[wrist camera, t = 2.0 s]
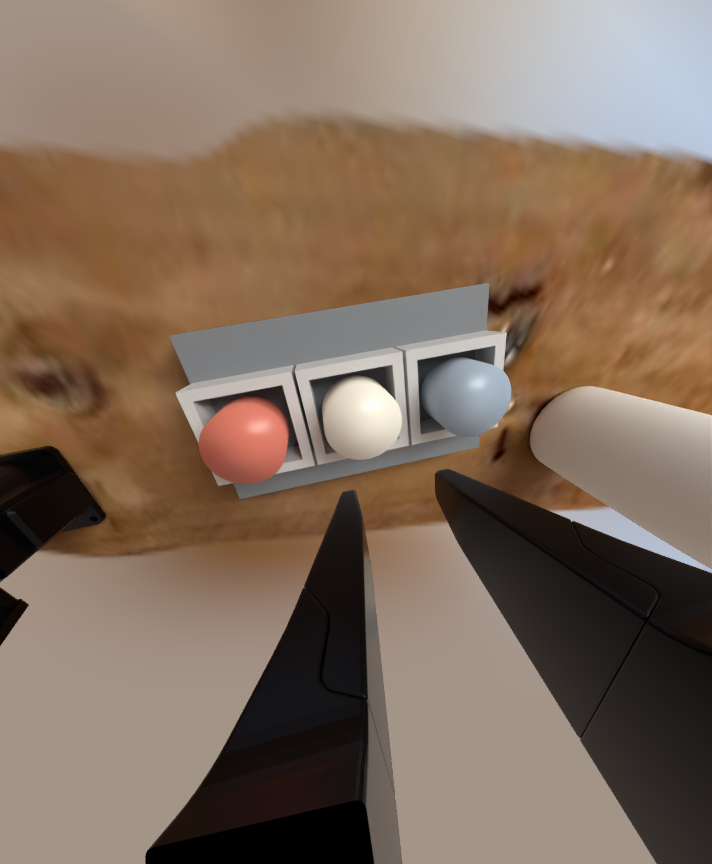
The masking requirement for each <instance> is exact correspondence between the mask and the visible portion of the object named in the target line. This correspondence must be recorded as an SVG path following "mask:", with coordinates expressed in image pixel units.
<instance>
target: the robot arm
mask: <svg viewBox="0 0 712 864" xmlns="http://www.w3.org/2000/svg"><path fill="white" fill-rule="evenodd" d="M46 453H48V454H49V455H50V456H49V455H48V454H46ZM435 494H436V498H437V501H438V503H439V505H440V507H441V509H442V511H443V513H444V515H445V517H446V519H447V521H448V523H449V526H450V528H451V530H452V532H453V534H454V536H455V538H456V540H457V542H458V544H459V545H460V547H461V549H462V550H463V552H464V554H465V555H466V557H467V558H468V560H469V562H470V563H471V565H472V566H473V568H474V570H475V571H476V573H477V574H478V576H479V578H480V579H481V581H482V583H483V584H484V586H485V587H486V589H487V590H488V592H489V594H490V595H491V597H492V599H493V600H494V602H495V604H496V605H497V607H498V608H499V610H500V611H501V613H502V615H503V616H504V618H505V620H506V621H507V623H508V624H509V626H510V628H511V629H512V631H513V633H514V634H515V636H516V637H517V639H518V641H519V642H520V644H521V645H522V647H523V649H524V650H525V652H526V653H527V655H528V657H529V658H530V660H531V661H532V663H533V665H534V666H535V668H536V669H537V671H538V673H539V674H540V676H541V678H542V679H543V681H544V682H545V684H546V686H547V687H548V689H549V691H550V692H551V694H552V695H553V697H554V698H555V700H556V702H557V703H558V705H559V707H560V708H561V710H562V711H563V713H564V715H565V716H566V718H567V719H568V721H569V723H570V724H571V726H572V727H573V729H574V731H575V732H576V734H577V735H578V737H580V741H581V742H582V744H583V746H584V747H585V749H586V751H587V752H588V754H589V755H590V757H591V759H592V760H593V762H594V763H595V765H596V766H597V768H598V770H599V771H600V773H601V775H602V776H603V778H604V780H605V781H606V782H607V784H608V786H609V787H610V789H611V791H612V792H613V794H614V796H615V797H616V799H617V800H618V802H619V804H620V805H621V807H622V809H623V810H624V812H625V813H626V815H627V817H628V818H629V820H630V821H631V823H632V825H633V826H634V828H635V829H636V831H637V833H638V834H639V836H640V838H641V839H642V840H643V842H644V844H645V846H646V847H647V849H648V850H649V852H650V853H651V855H652V857H653V858H654V860H655V862H656V863H657V864H712V573H710V572H707V571H704V570H701V569H699V568H696V567H693V566H690V565H687V564H685V563H682V562H679V561H676V560H673V559H671V558H668V557H665V556H662V555H659V554H657V553H654V552H651V551H649V550H646V549H643V548H641V547H638V546H635V545H632V544H630V543H627V542H624V541H621V540H619V539H616V538H614V537H612V536H609V535H607V534H604V533H602V532H599V531H597V530H594V529H591V528H589V527H587V526H584V525H582V524H580V523H577V522H575V521H573V522H571V520H570V519H567V518H565V517H563V516H560V515H558V514H555V513H553V512H551V511H548V510H546V509H543V508H541V507H539V506H536V505H534V504H531V503H529V502H527V501H524V500H522V499H519V498H517V497H515V496H512V495H510V494H507V493H505V492H503V491H500V490H498V489H495V488H493V487H491V486H488V485H486V484H483V483H481V482H479V481H476V480H474V479H471V478H469V477H467V476H464V475H462V474H459V473H457V472H455V471H452V470H450V469H445V470H440V471H437V472H436V473H435ZM96 517H97V518H96ZM105 517H106V515H105V513H104V512H103V511H102V509H101V508H100V507H99V505H98V504H97V503H96V501H95V500H94V498H93V497H92V496H91V494H90V493H89V492H88V490H87V489H86V488H85V486H84V485H83V484H82V482H81V481H80V479H79V478H78V477H77V475H76V474H75V473H74V471H73V470H72V469H71V467H70V466H69V465H68V463H67V462H66V460H65V459H64V458H63V456H62V455H61V454H60V452H59V451H58V450H57V449H56V448H54V447H51V446H44V447H39V448H34V449H29V450H23V451H18V452H13V453H8V454H2V455H0V582H1V581H2V580H3V579H5V578H6V577H8V575H10V574H11V573H12V572H13V571H15V570H16V569H17V568H18V567H19V566H20V565H21V564H22V563H24V562H25V561H26V560H27V559H28V558H30V557H31V556H32V555H33V554H34V553H35V552H37V551H38V550H39V549H40V548H41V547H43V546H45V545H46V544H47V543H48V542H49V541H50V540H52V539H53V538H54V537H55V536H56V535H57V534H58V533H60V532H63V531H68V530H72V529H77V528H81V527H86V526H91V525H95V524H99V523H101V522H102V521H103V520H104V519H105ZM304 587H305V588H303V590H302V592H301V594H300V597H299V599H298V602H297V604H296V607H295V609H294V611H293V613H292V616H291V618H290V620H289V622H288V625H287V627H286V629H285V631H284V633H283V635H282V637H281V639H280V641H279V643H278V645H277V647H276V649H275V651H274V653H273V655H272V657H271V659H270V661H269V662H268V664H267V666H266V668H265V670H264V672H263V674H262V676H261V678H260V679H259V681H258V684H257V685H256V687H255V689H254V691H253V693H252V695H251V697H250V699H249V700H248V702H247V704H246V706H245V708H244V710H243V712H242V714H241V715H240V717H239V719H238V721H237V723H236V725H235V727H234V729H233V731H232V732H231V734H230V736H229V738H228V740H227V742H226V744H225V745H224V747H223V749H222V751H221V753H220V755H219V756H218V758H217V760H216V761H215V763H214V764H213V766H212V768H211V769H210V771H209V773H208V774H207V776H206V777H205V778H204V780H203V781H202V783H201V785H200V786H199V788H198V789H197V790H196V792H195V793H194V794H193V796H192V797H191V799H190V800H189V801H188V803H187V804H186V805H185V807H184V808H183V809H182V810H181V811H180V813H179V814H178V815H177V816H176V818H175V819H174V820H173V821H172V822H171V823H170V825H169V826H168V827H167V828H166V829H165V831H164V832H163V833H162V834H161V835H160V836H159V838H158V839H157V840H156V841H155V843H154V844H153V845H152V846H151V847H150V848H149V849H148V851H147V853H146V856H145V858H146V864H402V858H401V847H400V838H399V829H398V818H397V810H396V800H395V790H394V780H393V770H392V762H391V752H390V742H389V732H388V723H387V713H386V703H385V693H384V684H383V674H382V664H381V655H380V645H379V635H378V626H377V616H376V607H375V597H374V588H373V577H372V569H371V562H370V557H369V551H368V545H367V540H366V534H365V528H364V523H363V517H362V512H361V509H360V505H359V501H358V498H357V494H356V491H355V490H350V491H345V492H343V493H342V494H341V496H340V499H339V501H338V504H337V506H336V509H335V511H334V514H333V516H332V519H331V521H330V523H329V526H328V528H327V531H326V533H325V536H324V538H323V541H322V543H321V546H320V548H319V551H318V553H317V555H316V558H315V560H314V563H313V565H312V568H311V570H310V573H309V575H308V578H307V580H306V582H305V586H304ZM27 607H28V604H27V603H26V602H25V601H23V600H22V599H18V600H17V599H16V598H15V597H13V596H12V595H10V594H9V593H7V592H6V591H4V590H3V589H2V588H0V645H1V644H2V643H3V641H4V640H5V638H6V637H7V636H8V634H9V633H10V631H11V630H12V628H13V627H14V626H15V624H16V622H17V621H18V620H19V618H20V617H21V615H22V614H23V613H24V611H25V610H26V608H27Z"/></svg>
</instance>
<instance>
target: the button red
mask: <svg viewBox="0 0 712 864" xmlns="http://www.w3.org/2000/svg"><path fill="white" fill-rule="evenodd" d="M289 434H290V426H289V422H288V419H287V417H286V415H285V414H284V412H283V411H282V410H281V409H280V407H278V406H277V405H276V404H275V403H273V402H272V401H270V400H268V399H265V398H263V397H259V396H241V397H237V398H235V399H232V400H231V401H229V402H228V403H226V404H225V405H224V406H223V407H222V408H221V409H220V410H219V411H218V412H217V413H216V414H215V415H214V416H213V418H212V419H211V420H210V421H209V422H208V423H207V424H206V425H205V426H204V428H203V429H202V431H201V433H200V437H199V443H198V445H199V452H200V455H201V458H202V460H203V461H204V463H205V464H206V466H207V467H208V468H209V469H210V470H211V471H212V472H213V473H214V474H216V475H217V476H219V477H221V478H223V479H225V480H227V481H230V482H234V483H239V484H252V483H258V482H261V481H264V480H266V479H268V478H270V477H272V476H273V475H274V474H275V473H276V472H278V470H279V469H280V468H281V466H282V465H283V462H284V460H285V456H286V451H287V445H288V440H289Z"/></svg>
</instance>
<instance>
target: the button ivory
mask: <svg viewBox="0 0 712 864" xmlns="http://www.w3.org/2000/svg"><path fill="white" fill-rule="evenodd" d="M322 415H323V424H324V432H325V436H326V439H327V441H328V443H329V444H330V446H331V447H332V448H333V449H334V450H335V451H336V452H337V453H339V454H340V455H342V456H344V457H347V458H350V459H356V460H365V459H370V458H374V457H376V456H379V455H380V454H382V453H384V452H385V451H387V450H388V449H389V448H390V447H391V446H392V445H393V444H394V442H395V441H396V439H397V438H398V436H399V433H400V430H401V426H402V415H401V410H400V408H399V405H398V403H397V402H396V400H395V399H394V398H393V397H392V396H391V395H390V394H389V393H388V392H387V391H386V390H385V389H384V388H383V387H382V386H381V385H380V384H379V383H378V382H377V381H375V380H373V379H371V378H369V377H366V376H361V375H354V376H348V377H345V378H343V379H341V380H339V381H337V382H336V383H335V384H333V385H332V386H331V387H330V389H329V390H328V391H327V393H326V395H325V397H324V400H323V404H322Z"/></svg>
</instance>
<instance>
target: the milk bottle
mask: <svg viewBox="0 0 712 864" xmlns="http://www.w3.org/2000/svg"><path fill="white" fill-rule="evenodd" d="M530 447H531V449H532V452H533V454H534V456H535V457H536V458H537V460H538V461H540V462H541V463H542V464H544V465H545V466H547V467H548V468H550V469H551V470H553V471H554V472H556V473H557V474H559V475H561V476H562V477H564V478H565V479H567V480H568V481H570V482H571V483H573V484H575V485H576V486H578V487H579V488H581V489H582V490H584V491H585V492H587V493H589V494H590V495H592V496H593V497H595V498H596V499H598V500H600V501H601V502H603V503H604V504H606V505H607V506H609V507H611V508H612V509H614V510H615V511H617V512H619V513H620V514H622V515H623V516H625V517H626V518H628V519H630V520H631V521H633V522H634V523H636V524H637V525H639V526H641V527H642V528H644V529H645V530H647V531H649V532H650V533H652V534H653V535H655V536H657V537H658V538H660V539H661V540H663V541H665V542H667V543H669V544H670V545H671V546H673V547H675V548H676V549H678V550H680V551H681V552H683V553H685V554H687V555H688V556H690V557H691V558H693V559H695V560H697V561H698V562H700V563H702V564H704V565H706V566H707V567H709V568H712V415H708V414H704V413H700V412H696V411H692V410H688V409H684V408H680V407H676V406H672V405H668V404H664V403H660V402H656V401H652V400H648V399H644V398H640V397H636V396H632V395H628V394H624V393H620V392H616V391H612V390H608V389H603V388H598V387H593V386H585V387H578V388H574V389H570V390H568V391H566V392H563V393H562V394H560V395H558V396H557V397H555V398H554V399H553V400H552V401H550V402H549V403H548V404H547V405H546V406H545V407H544V408H543V409H542V411H541V412H540V414H539V415H538V416H537V418H536V420H535V422H534V424H533V427H532V430H531V433H530Z"/></svg>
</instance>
